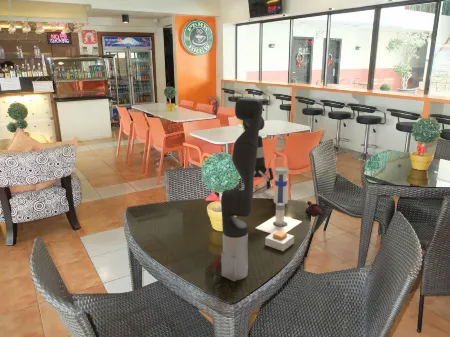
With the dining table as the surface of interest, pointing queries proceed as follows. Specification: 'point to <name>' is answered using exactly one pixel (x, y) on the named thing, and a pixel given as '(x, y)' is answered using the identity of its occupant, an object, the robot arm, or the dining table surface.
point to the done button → (280, 235)
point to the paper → (271, 225)
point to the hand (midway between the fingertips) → (259, 189)
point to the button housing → (279, 242)
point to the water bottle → (281, 185)
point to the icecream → (313, 209)
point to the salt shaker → (280, 214)
